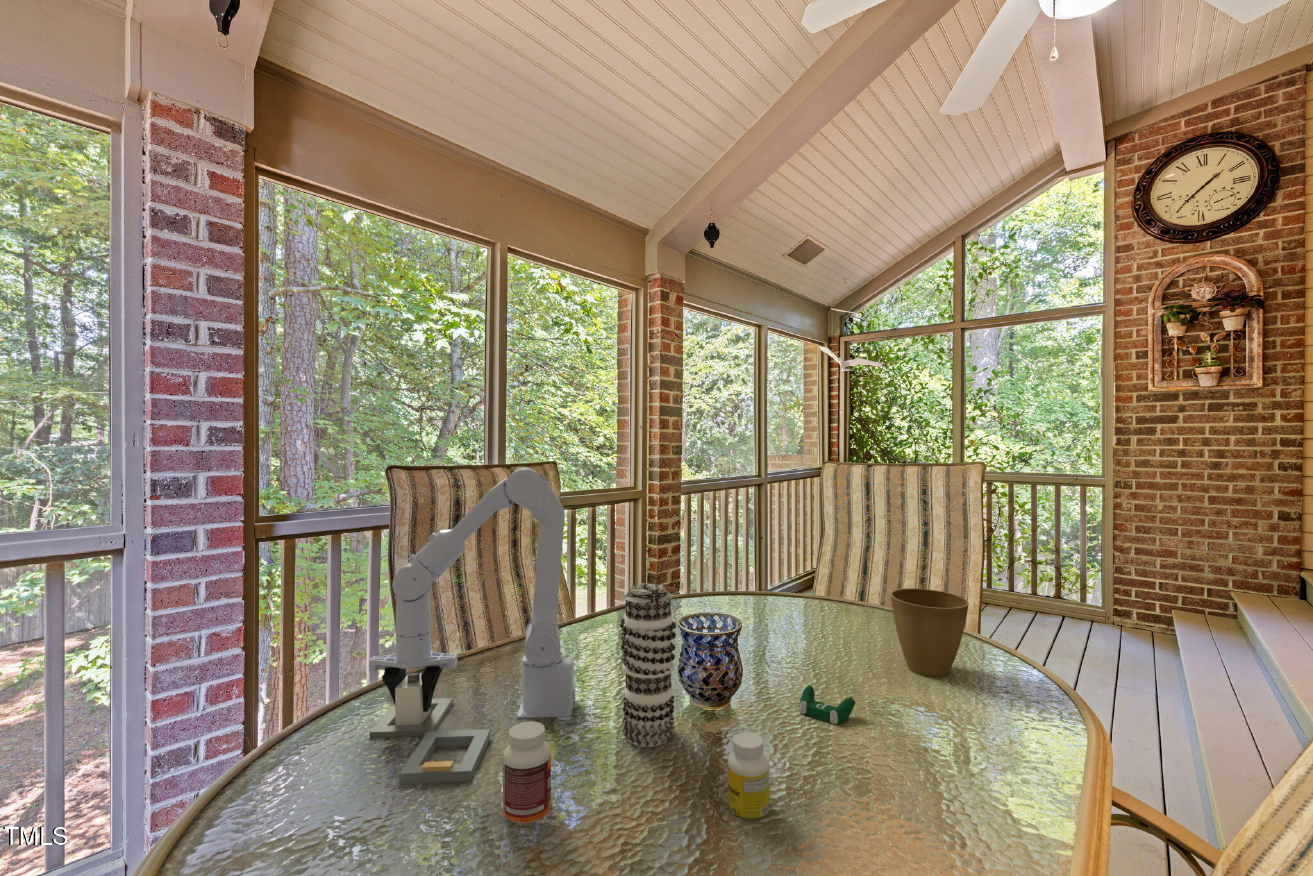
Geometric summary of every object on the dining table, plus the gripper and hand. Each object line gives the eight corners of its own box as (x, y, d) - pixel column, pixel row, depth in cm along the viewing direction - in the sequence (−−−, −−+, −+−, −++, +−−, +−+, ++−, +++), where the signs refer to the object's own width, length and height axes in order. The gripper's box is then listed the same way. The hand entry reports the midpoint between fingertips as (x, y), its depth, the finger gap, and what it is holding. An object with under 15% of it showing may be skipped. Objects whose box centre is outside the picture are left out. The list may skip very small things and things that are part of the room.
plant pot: (891, 681, 118) (890, 602, 118) (891, 656, 131) (890, 585, 132) (974, 693, 112) (973, 610, 112) (964, 665, 126) (964, 591, 126)
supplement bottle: (724, 802, 78) (723, 730, 78) (763, 800, 79) (763, 728, 79) (732, 829, 73) (732, 751, 73) (774, 826, 73) (774, 749, 73)
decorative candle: (657, 760, 89) (657, 597, 89) (609, 744, 94) (608, 589, 94) (686, 734, 96) (686, 584, 97) (640, 720, 101) (640, 577, 101)
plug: (430, 712, 105) (430, 668, 105) (419, 728, 99) (419, 681, 99) (408, 713, 104) (408, 668, 104) (395, 729, 98) (395, 682, 98)
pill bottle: (558, 818, 75) (558, 733, 75) (512, 836, 72) (512, 747, 72) (540, 794, 80) (540, 714, 80) (496, 809, 77) (496, 726, 77)
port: (490, 741, 94) (490, 725, 94) (471, 785, 82) (471, 766, 82) (427, 743, 94) (427, 727, 94) (399, 787, 82) (399, 769, 82)
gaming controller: (808, 703, 108) (792, 715, 103) (807, 683, 108) (792, 694, 103) (856, 718, 102) (843, 732, 97) (856, 697, 102) (842, 709, 97)
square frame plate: (452, 704, 108) (452, 698, 108) (431, 737, 96) (431, 730, 96) (397, 706, 107) (397, 699, 107) (369, 739, 95) (369, 732, 95)
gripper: (461, 623, 106) (462, 698, 106) (380, 625, 105) (380, 700, 105) (450, 636, 99) (450, 716, 99) (363, 639, 98) (363, 719, 98)
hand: (413, 709), depth 102 cm, fingers closed on plug, 4 cm apart
